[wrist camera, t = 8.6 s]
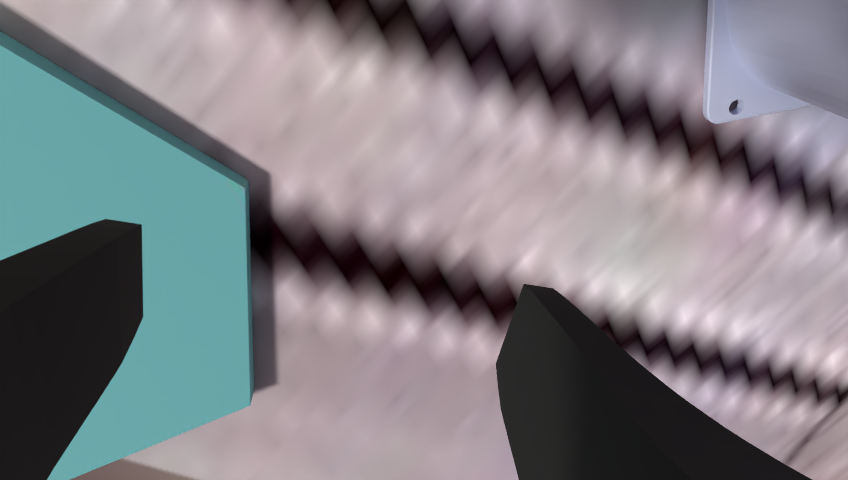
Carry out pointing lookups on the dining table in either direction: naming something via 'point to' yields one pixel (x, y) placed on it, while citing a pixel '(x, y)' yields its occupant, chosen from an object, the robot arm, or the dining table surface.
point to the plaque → (161, 249)
